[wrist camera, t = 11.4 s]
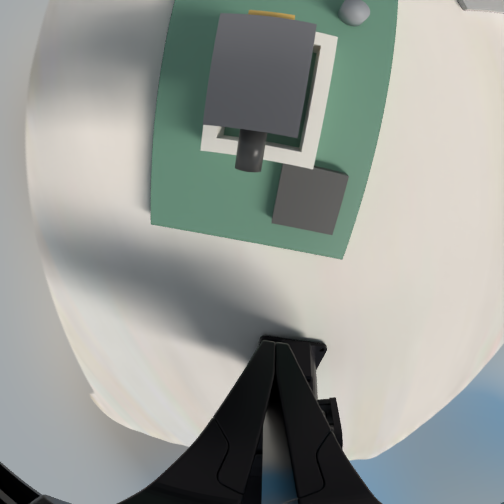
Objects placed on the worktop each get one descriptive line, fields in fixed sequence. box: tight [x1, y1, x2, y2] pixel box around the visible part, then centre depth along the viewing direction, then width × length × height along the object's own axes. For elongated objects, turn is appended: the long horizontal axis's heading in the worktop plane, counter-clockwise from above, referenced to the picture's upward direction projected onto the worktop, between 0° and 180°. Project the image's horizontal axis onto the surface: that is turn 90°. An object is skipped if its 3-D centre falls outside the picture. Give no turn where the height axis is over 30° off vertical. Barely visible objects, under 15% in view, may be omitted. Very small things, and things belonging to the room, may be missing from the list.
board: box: [151, 0, 398, 259], centre depth 13 cm, size 20×14×3 cm
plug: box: [203, 10, 317, 172], centre depth 11 cm, size 6×3×8 cm, turn 172°
